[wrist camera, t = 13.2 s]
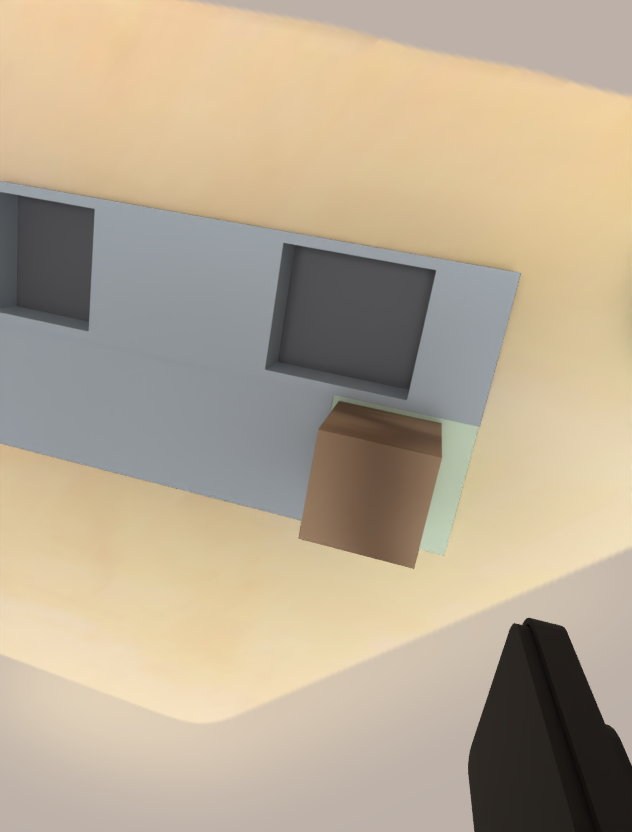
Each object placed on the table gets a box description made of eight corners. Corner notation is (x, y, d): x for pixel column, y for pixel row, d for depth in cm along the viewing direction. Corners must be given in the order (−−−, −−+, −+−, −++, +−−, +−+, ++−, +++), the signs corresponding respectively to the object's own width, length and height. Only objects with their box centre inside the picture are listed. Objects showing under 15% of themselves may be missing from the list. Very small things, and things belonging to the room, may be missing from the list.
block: (321, 493, 29) (298, 538, 24) (338, 400, 28) (317, 429, 23) (418, 517, 28) (414, 568, 24) (441, 423, 27) (441, 457, 22)
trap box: (3, 425, 35) (-29, 437, 32) (4, 182, 31) (-33, 175, 28) (443, 535, 31) (444, 558, 28) (513, 272, 26) (521, 273, 24)
